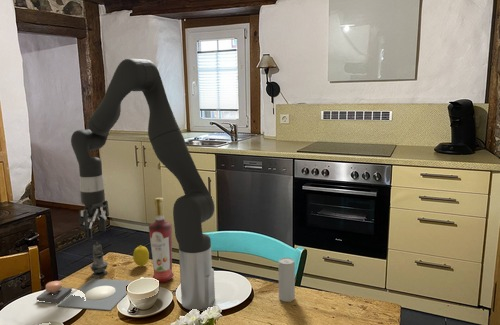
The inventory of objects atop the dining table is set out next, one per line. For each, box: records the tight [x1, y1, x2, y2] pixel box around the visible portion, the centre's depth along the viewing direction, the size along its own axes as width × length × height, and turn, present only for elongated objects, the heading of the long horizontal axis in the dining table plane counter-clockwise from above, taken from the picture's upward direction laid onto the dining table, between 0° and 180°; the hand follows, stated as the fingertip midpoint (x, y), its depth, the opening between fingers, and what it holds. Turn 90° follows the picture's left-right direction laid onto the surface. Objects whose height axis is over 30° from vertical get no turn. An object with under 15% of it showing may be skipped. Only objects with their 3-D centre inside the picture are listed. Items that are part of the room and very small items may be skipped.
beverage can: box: [277, 257, 296, 303], centre depth 118 cm, size 5×5×12 cm
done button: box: [45, 280, 63, 295], centre depth 122 cm, size 4×4×3 cm
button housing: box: [36, 286, 73, 305], centre depth 123 cm, size 7×7×2 cm
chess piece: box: [89, 241, 109, 279], centre depth 137 cm, size 6×6×12 cm
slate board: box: [57, 277, 133, 312], centre depth 124 cm, size 17×18×1 cm
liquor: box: [148, 197, 175, 284], centre depth 131 cm, size 7×7×28 cm
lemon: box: [132, 245, 150, 268], centre depth 143 cm, size 6×6×8 cm
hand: (96, 234), depth 136 cm, fingers open, 8 cm apart
